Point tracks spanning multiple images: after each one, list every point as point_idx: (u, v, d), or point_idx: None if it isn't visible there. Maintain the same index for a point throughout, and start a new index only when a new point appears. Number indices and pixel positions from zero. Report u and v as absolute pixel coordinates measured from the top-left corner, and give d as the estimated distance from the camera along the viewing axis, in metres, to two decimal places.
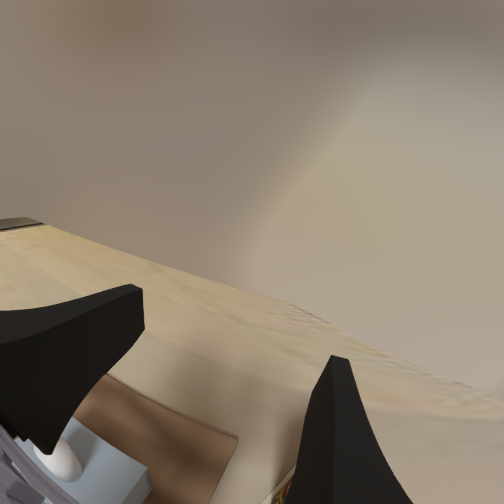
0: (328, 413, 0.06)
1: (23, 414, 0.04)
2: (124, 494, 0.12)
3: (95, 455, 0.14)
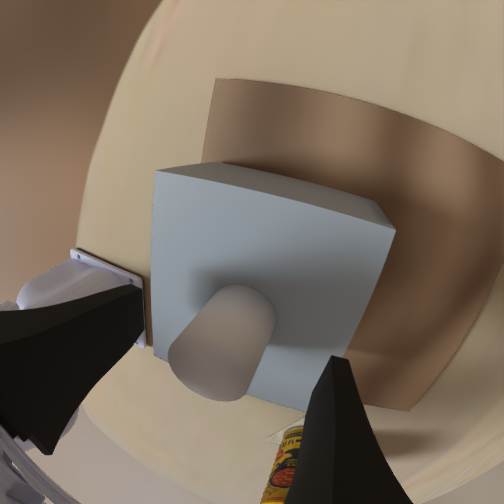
0: (328, 413, 0.06)
1: (23, 414, 0.04)
2: (249, 393, 0.13)
3: (299, 355, 0.11)
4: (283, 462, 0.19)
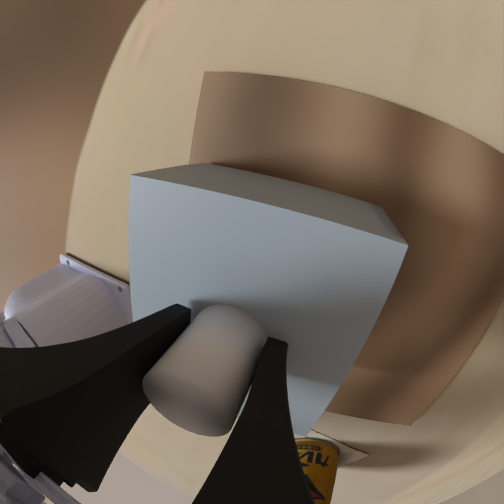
0: None
1: (73, 461, 0.04)
2: None
3: (293, 381, 0.10)
4: None
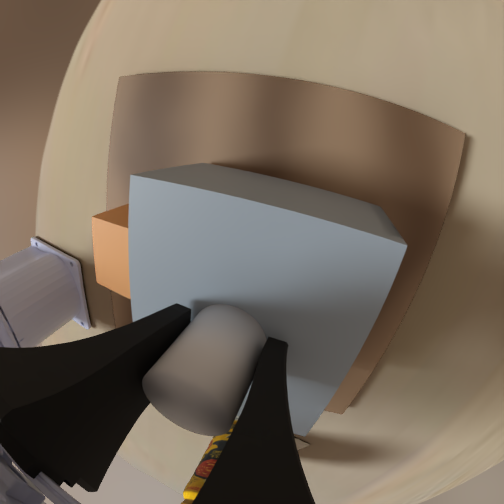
0: None
1: (72, 461, 0.04)
2: None
3: (293, 380, 0.10)
4: (209, 453, 0.19)
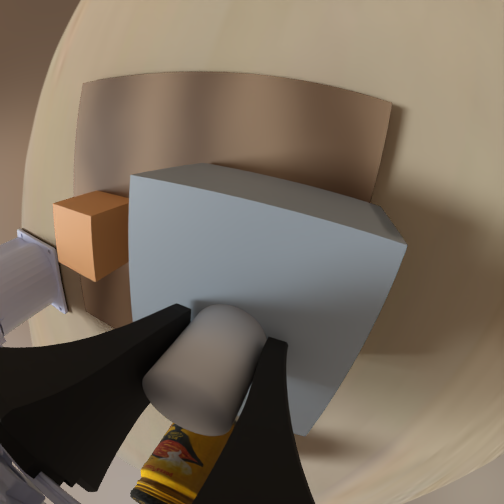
0: None
1: (72, 461, 0.04)
2: None
3: (293, 380, 0.10)
4: (167, 434, 0.19)
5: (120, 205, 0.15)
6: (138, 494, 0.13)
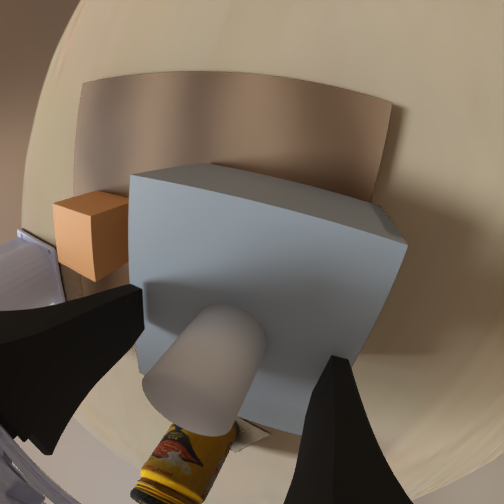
0: (328, 413, 0.06)
1: (23, 414, 0.04)
2: (240, 415, 0.11)
3: (293, 381, 0.10)
4: (167, 434, 0.19)
5: (119, 205, 0.15)
6: (138, 495, 0.13)
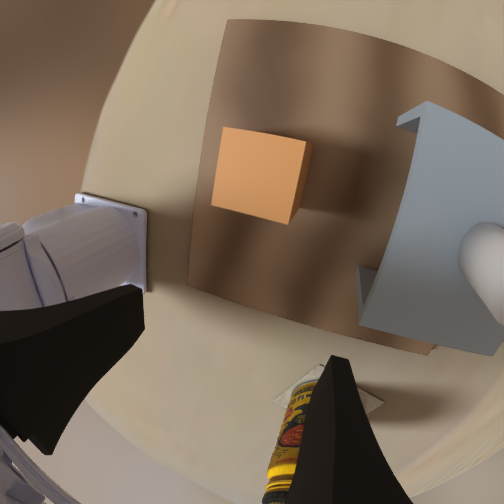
0: (328, 413, 0.06)
1: (23, 414, 0.04)
2: (455, 345, 0.10)
3: None
4: (293, 420, 0.18)
5: (309, 143, 0.14)
6: None
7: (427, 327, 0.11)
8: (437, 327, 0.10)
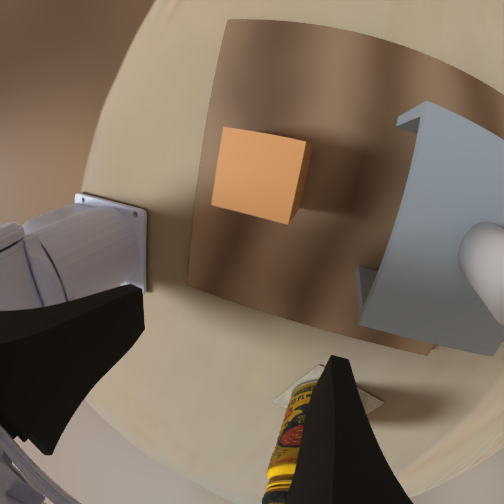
0: (328, 413, 0.06)
1: (23, 414, 0.04)
2: (455, 345, 0.10)
3: None
4: (293, 420, 0.18)
5: (309, 143, 0.14)
6: None
7: (427, 327, 0.11)
8: (437, 327, 0.10)
